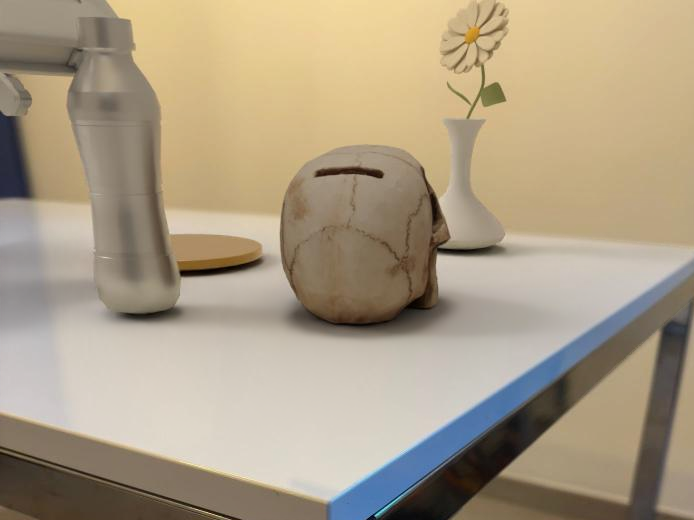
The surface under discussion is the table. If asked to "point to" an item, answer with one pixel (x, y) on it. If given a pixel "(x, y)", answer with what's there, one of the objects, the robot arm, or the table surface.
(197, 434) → the table surface
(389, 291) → the coin bank
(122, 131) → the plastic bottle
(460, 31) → the flower in vase
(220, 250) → the plate
